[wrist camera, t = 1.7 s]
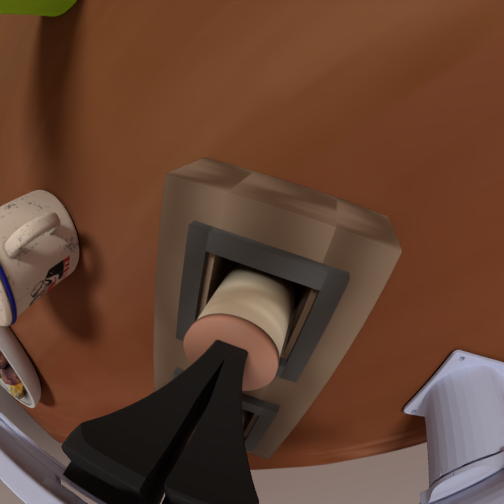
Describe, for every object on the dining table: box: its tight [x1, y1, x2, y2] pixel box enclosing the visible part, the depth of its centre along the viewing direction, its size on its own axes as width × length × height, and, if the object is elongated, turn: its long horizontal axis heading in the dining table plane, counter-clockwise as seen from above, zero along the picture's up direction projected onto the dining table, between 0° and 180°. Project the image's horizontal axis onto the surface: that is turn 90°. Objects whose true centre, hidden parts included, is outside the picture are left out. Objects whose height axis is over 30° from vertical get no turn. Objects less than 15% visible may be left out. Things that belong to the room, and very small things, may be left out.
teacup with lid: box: [0, 190, 79, 326], centre depth 18 cm, size 12×9×12 cm
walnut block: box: [154, 158, 402, 459], centre depth 20 cm, size 11×22×5 cm, turn 166°
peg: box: [183, 264, 295, 391], centre depth 14 cm, size 4×4×5 cm
